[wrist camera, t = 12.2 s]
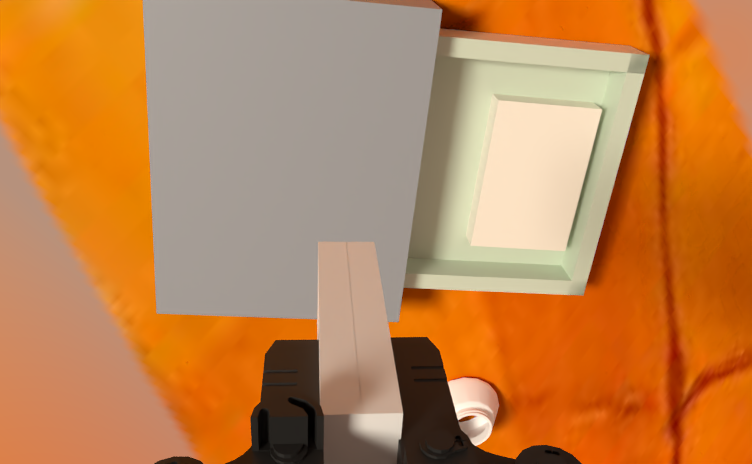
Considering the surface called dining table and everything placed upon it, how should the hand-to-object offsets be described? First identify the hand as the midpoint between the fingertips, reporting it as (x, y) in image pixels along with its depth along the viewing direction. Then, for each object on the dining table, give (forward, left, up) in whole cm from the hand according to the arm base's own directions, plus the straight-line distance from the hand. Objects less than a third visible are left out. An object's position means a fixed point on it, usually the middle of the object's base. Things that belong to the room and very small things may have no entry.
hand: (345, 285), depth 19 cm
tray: (+4, +11, -22) cm, 25 cm away
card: (+4, +12, -20) cm, 24 cm away
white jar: (+22, +11, -22) cm, 33 cm away
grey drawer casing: (+4, -2, -22) cm, 22 cm away
